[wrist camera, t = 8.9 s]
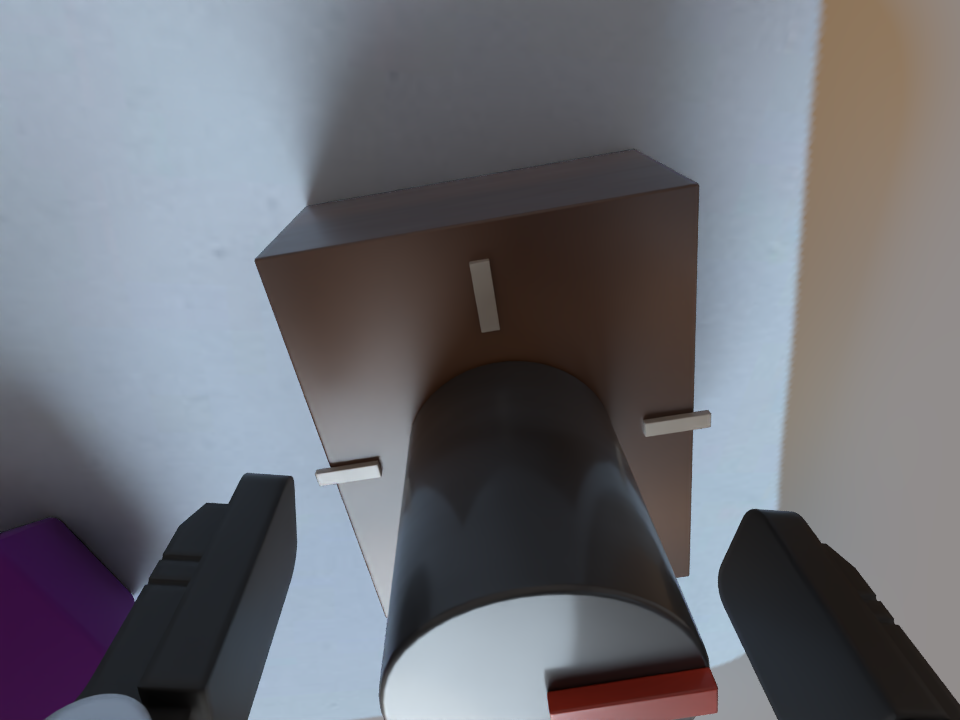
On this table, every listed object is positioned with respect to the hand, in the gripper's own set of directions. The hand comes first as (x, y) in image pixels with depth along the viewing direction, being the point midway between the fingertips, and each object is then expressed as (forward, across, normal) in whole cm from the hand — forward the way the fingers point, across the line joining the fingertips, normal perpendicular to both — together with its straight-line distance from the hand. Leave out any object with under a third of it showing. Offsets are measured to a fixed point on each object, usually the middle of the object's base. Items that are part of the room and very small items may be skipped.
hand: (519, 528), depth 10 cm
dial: (+2, 0, 0) cm, 2 cm away
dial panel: (+6, 0, 0) cm, 7 cm away
